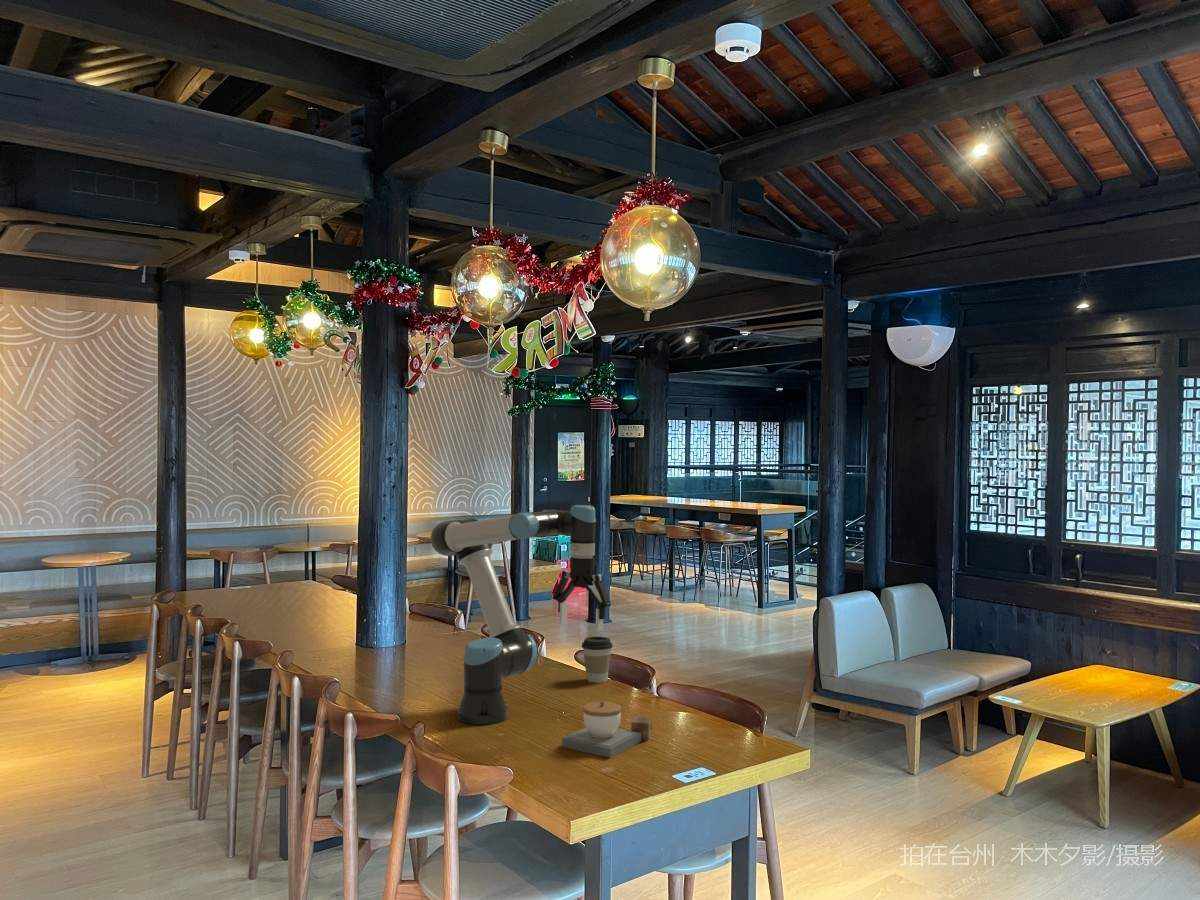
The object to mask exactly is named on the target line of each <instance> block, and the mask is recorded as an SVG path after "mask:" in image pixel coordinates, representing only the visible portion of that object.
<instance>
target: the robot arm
mask: <svg viewBox="0 0 1200 900" xmlns="http://www.w3.org/2000/svg"><path fill="white" fill-rule="evenodd" d="M596 522H597V519H596V508H595V507H594V506H593V505H587V504H585V505H583V504H581V505H580V504H576V505H572V506H571V508H570V511H568V510H559V509H558V510H557V509H544V510H542V511H532V512H528V511H523V512H519V513H518V512H517V513H516V514H511V515H505V516H498V517H493V518H488V519H487V518H486V519H483V520H482V519H480V518H466V519H455V520H446V521H442V522H440V523H438V524H436V525H435V526H434V528H433V529H432V530H431V534H430V544H431V547H432V548H433V550H434V551H435V552H437V553H438V554H439V555H441V556H445V557H446V556H447V557H453V556H454V557H455V556H456V558H457V561H458V563H459V565H461V566H464V567H465V569H466V571H467V574H468V577H469V580H470V582H471V584H472V588H473V591H474V593H475V595H476V598H477V601H478V604H479V607H480V609H481V612H482V615H483V617H484V620H485V623H486V625H487V628H488V631H489V636H488V637H484V638H477V639H474V640H471V641H470V642H468V643H467V644H466V645H465V647H464V655H463V676H464V677H463V696H462V698H461V702H460V705H459V708H458V711H457V718H458V721H459V722H460V723H464V724H467V725H480V726H481V725H492V724H497V723H500V722H503V721H505V720H506V719H507V718H508V716H509V715H508V711H509V710H508V707H507V705H506V701H505V698H504V694H503V679H505V678H509V677H512V676H515V675H521V674H523V673H525V672H527V671H529V670H530V669H532V668H533V667H534V665H535V664H536V660H537V657H538V647H537V643H536V641H535V639H534V638H533V637H532V636H530V635H529V634H525V633H524V631H523V627H522V626H520V625H518V624H517V623H516V622H515V619H514V617H513V615H512V612H511V608H510V606H509V604H508V601H507V598H506V596H505V594H504V590H503V588H502V586H501V582H500V581H499V578H498V575H497V572H496V570H495V567H494V564H493V562H492V559H491V556H492V553H493V548H492V546H493V545H494V543H495V544H496V543H503V542H507V541H508V542H510V541H515V540H523V539H525V540H526V539H530V538H531V539H532V538H537V537H548V536H549V537H550V536H568V537H569V539H570V540H569V541H570V543H569V545H570V546H569V549H570V550H569V555H570V558H569V569H570V570H569V569H566V570H562V571H561V577H560V579H559V582H558V584H557V587H556V589H555V590H554V594H553V596H552V599H553V600H555V601H557V604H558V605H557V611H558V613H559V625H562V626H563V625H564V624H568V601H567V598H568V597H570V595H571V594H572V592H573V591H574V590H575V589H576V588H581V589H586V591H588V593H589V595H590V596H591V597H592V599H593V600H594V603H595V604H596V606H597V608H596V609H595V631H601V630H603V629H604V620H605V619H606V609H607V608H608V607H611V606H612V602H611V599H610V596H609V594H608V591H607V589H606V588H607V587H606V586H605V582H604V575H603V574H602V573H600V574H594V570H595V563H596V562H595V557H594V556H595V555H596V540H595V539H596V538H595V537H596V524H597V523H596ZM569 579H570V581H569Z"/></svg>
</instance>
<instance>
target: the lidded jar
mask: <svg viewBox="0 0 1200 900" xmlns="http://www.w3.org/2000/svg"><path fill="white" fill-rule="evenodd" d="M582 712H583V724H584V726H585V727H586V728H587V730H588V731H589V732H590V733H591V735H592V736H593V737H596V738H608V737H611V736H613V734H614V733H615V732H616V730H617V729H618V728H619V727H620V723H621V720H622V719H621V717H622V706H621V705H620V704H618V703H615V702H611V701H605V700H600V701H593V702H592V701H591V702H588V703H586V704H584V705H583V706H582Z"/></svg>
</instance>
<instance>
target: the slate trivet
mask: <svg viewBox="0 0 1200 900" xmlns="http://www.w3.org/2000/svg"><path fill="white" fill-rule="evenodd" d="M641 742H642V740H641V733H640V732H635V731H631V729H630V730H629V729H624V728H619V727H618V729H617V730H616V732H615V733H614V734H613V736H611V737H608V738H596V737H593V736H592V735H591V733H590V732H589V731H588V730H587V728H586V726H585V727H583V728H581V729H578V730H576V731H573V732H571V733H570V734H568V735H565V736H563V737H561V747H562V748H565V749H570V750H574V751H578V752H582V753H587V754H590V755H596V756H599V757H603V756H605V758H608V757H609V758H608V759H612V758H613V756H614V757H616V756H617V754H618V755H620V754H621V753H623V752H625V751H626V750H629V749H630V748H632V747H634V746H636V745H638V744H640V743H641ZM615 755H616V756H615ZM611 757H612V758H611Z"/></svg>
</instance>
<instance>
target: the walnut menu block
mask: <svg viewBox="0 0 1200 900" xmlns="http://www.w3.org/2000/svg"><path fill="white" fill-rule="evenodd" d="M630 723H631V724H630V731H635V732H640V733H641V741H645V742H649V740H651V738H652V736H653V718H650V717H640V716H639V717H638V716H634V718H633V719H632V720H631V722H630Z"/></svg>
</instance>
